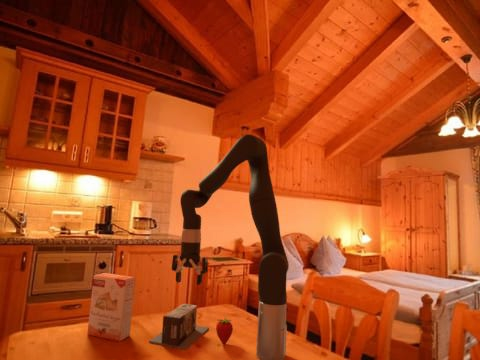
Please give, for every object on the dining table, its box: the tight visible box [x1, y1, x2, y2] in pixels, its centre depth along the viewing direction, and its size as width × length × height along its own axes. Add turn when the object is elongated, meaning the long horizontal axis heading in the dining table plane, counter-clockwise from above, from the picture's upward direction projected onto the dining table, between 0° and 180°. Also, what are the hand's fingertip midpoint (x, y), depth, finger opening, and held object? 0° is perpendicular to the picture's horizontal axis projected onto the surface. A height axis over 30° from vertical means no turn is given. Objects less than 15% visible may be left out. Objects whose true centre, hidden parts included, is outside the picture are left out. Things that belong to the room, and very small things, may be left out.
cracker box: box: [87, 272, 136, 342], centre depth 108 cm, size 14×6×21 cm, turn 73°
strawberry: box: [215, 315, 234, 346], centre depth 106 cm, size 6×8×10 cm
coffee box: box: [161, 303, 198, 346], centre depth 109 cm, size 9×6×16 cm
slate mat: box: [148, 324, 210, 351], centre depth 111 cm, size 14×20×1 cm
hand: (188, 283), depth 116 cm, fingers open, 8 cm apart
